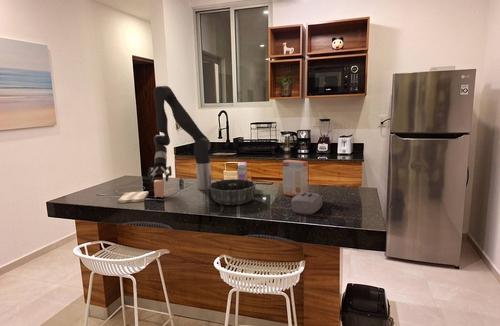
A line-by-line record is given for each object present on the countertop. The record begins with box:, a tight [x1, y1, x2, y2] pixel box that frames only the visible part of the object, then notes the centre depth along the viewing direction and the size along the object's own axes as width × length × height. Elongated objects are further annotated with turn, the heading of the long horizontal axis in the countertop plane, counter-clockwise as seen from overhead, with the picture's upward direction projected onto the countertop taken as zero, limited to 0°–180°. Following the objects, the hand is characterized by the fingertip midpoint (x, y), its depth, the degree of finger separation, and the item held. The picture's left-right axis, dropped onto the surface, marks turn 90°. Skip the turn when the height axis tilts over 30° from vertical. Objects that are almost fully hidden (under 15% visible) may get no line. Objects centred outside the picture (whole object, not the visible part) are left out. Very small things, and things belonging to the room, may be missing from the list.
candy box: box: [236, 161, 248, 180], centre depth 208 cm, size 14×6×16 cm, turn 179°
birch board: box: [117, 190, 149, 204], centre depth 191 cm, size 14×18×2 cm
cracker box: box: [282, 159, 309, 198], centre depth 186 cm, size 14×6×21 cm, turn 47°
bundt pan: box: [209, 178, 257, 206], centre depth 179 cm, size 26×26×10 cm
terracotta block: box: [153, 179, 165, 199], centre depth 192 cm, size 5×5×10 cm
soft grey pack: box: [290, 192, 323, 215], centre depth 163 cm, size 15×8×20 cm
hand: (159, 181), depth 195 cm, fingers open, 8 cm apart
